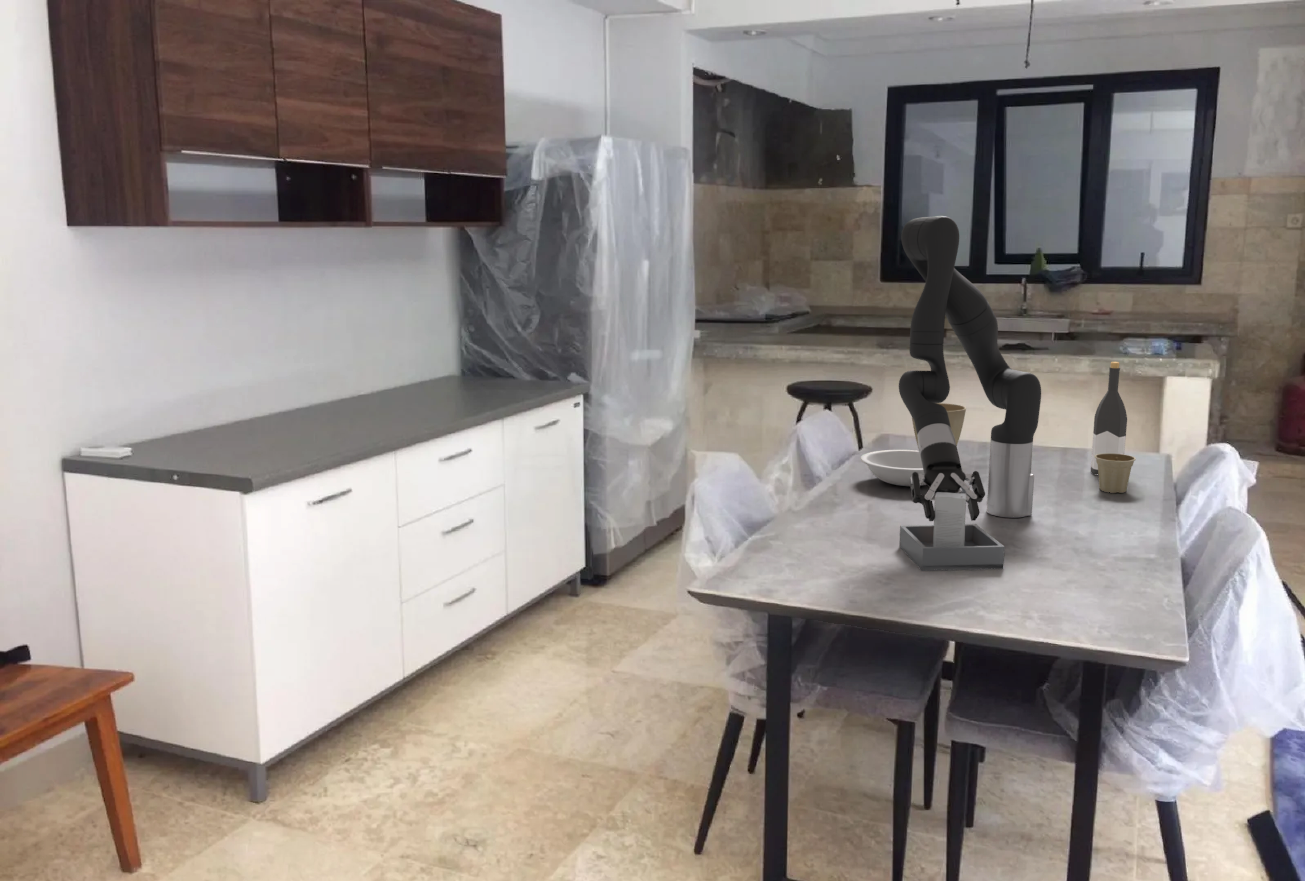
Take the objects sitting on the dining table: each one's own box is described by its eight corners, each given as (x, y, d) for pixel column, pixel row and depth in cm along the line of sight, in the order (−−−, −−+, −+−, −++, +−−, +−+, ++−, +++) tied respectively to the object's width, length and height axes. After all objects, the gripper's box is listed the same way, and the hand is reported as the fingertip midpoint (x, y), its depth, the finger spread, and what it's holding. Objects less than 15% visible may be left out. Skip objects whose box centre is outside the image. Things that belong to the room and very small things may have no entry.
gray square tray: (974, 544, 223) (976, 524, 222) (1003, 568, 207) (1004, 546, 206) (899, 546, 222) (900, 525, 221) (922, 570, 206) (923, 548, 206)
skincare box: (964, 550, 216) (967, 493, 213) (963, 556, 212) (966, 498, 209) (933, 548, 217) (935, 491, 215) (931, 554, 213) (934, 496, 211)
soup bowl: (941, 499, 260) (942, 473, 258) (847, 488, 271) (847, 463, 270) (965, 479, 280) (966, 454, 279) (876, 470, 292) (877, 446, 290)
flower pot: (1092, 493, 265) (1094, 459, 263) (1092, 484, 273) (1094, 451, 271) (1133, 496, 261) (1136, 462, 259) (1132, 488, 270) (1135, 454, 268)
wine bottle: (1125, 472, 286) (1134, 361, 280) (1119, 478, 280) (1129, 364, 274) (1093, 469, 291) (1101, 359, 285) (1087, 474, 284) (1095, 362, 278)
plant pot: (961, 458, 305) (964, 403, 302) (964, 469, 291) (967, 412, 288) (908, 456, 309) (910, 401, 306) (908, 467, 294) (910, 410, 291)
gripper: (908, 441, 217) (922, 510, 208) (977, 440, 218) (994, 509, 209) (900, 461, 223) (913, 529, 214) (967, 459, 224) (983, 527, 215)
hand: (953, 519), depth 212 cm, fingers open, 8 cm apart
